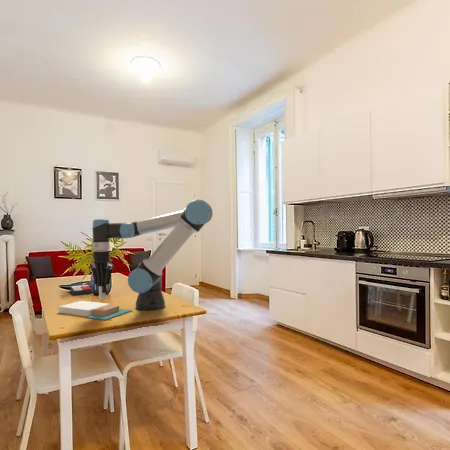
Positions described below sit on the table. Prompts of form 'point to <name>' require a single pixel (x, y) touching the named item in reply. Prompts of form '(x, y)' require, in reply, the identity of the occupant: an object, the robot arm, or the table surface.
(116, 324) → the table surface
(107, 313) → the tile
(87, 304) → the panel
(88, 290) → the calculator
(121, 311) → the mat
